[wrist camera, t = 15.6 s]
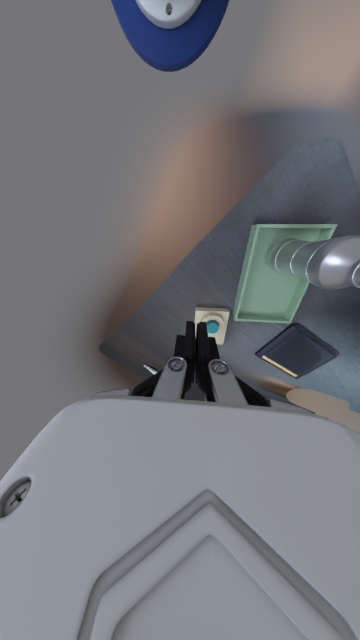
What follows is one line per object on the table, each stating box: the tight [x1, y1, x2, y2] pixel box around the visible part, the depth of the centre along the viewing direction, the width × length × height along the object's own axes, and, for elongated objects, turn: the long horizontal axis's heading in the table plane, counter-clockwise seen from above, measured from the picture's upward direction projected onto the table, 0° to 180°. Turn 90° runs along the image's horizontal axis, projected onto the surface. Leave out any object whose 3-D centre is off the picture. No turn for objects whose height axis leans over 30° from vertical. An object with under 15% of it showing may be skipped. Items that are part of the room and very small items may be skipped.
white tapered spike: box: [144, 365, 158, 375], centre depth 53 cm, size 15×3×2 cm, turn 47°
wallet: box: [255, 323, 339, 379], centre depth 43 cm, size 20×2×15 cm
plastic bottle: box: [267, 235, 360, 289], centre depth 22 cm, size 6×7×20 cm
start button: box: [206, 320, 219, 334], centre depth 36 cm, size 3×3×2 cm
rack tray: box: [232, 224, 337, 323], centre depth 32 cm, size 21×14×3 cm
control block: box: [195, 307, 230, 344], centre depth 40 cm, size 11×9×4 cm
